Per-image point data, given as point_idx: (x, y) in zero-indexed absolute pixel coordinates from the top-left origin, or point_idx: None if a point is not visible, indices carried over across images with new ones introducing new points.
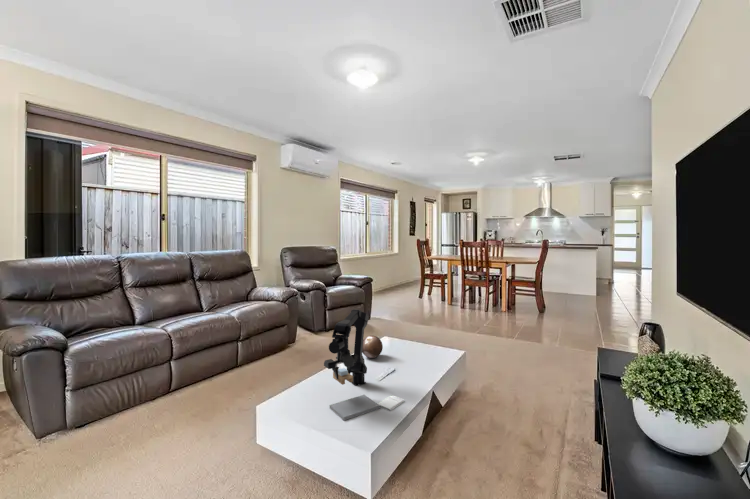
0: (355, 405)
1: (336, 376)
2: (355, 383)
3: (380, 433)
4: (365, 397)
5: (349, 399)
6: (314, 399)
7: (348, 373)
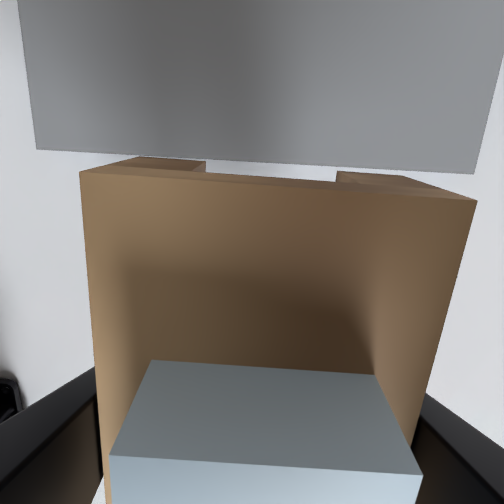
0: None
1: (452, 426)
2: (8, 410)
3: None
4: (56, 73)
5: (237, 149)
6: (443, 382)
7: (109, 395)
